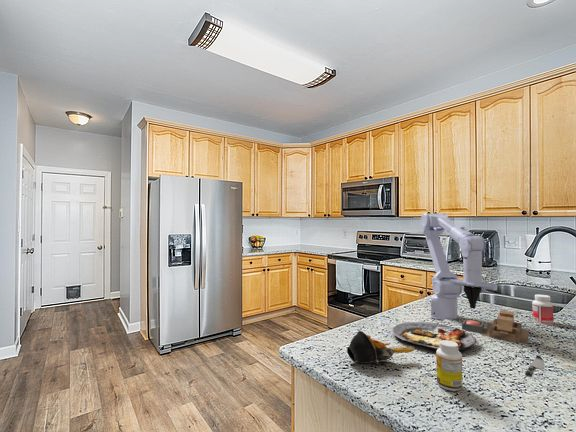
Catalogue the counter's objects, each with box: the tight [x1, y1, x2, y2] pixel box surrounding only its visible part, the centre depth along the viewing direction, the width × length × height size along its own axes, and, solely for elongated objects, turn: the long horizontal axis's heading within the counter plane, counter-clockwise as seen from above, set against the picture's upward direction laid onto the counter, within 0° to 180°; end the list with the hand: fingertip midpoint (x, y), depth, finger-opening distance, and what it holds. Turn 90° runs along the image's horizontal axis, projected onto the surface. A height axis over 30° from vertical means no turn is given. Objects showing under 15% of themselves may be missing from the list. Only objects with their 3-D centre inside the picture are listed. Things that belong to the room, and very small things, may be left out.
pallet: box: [482, 318, 530, 345], centre depth 107 cm, size 12×16×3 cm
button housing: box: [461, 319, 485, 334], centre depth 111 cm, size 6×6×3 cm
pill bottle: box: [531, 293, 555, 326], centre depth 118 cm, size 6×6×11 cm
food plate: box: [391, 321, 477, 351], centre depth 104 cm, size 25×23×4 cm
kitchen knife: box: [524, 355, 545, 377], centre depth 85 cm, size 19×1×3 cm
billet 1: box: [498, 309, 515, 327], centre depth 111 cm, size 4×4×6 cm
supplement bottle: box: [435, 340, 463, 392], centre depth 75 cm, size 6×6×10 cm
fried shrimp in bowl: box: [346, 330, 415, 365], centre depth 89 cm, size 9×11×18 cm
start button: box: [466, 319, 481, 326], centre depth 111 cm, size 4×4×3 cm
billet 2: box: [496, 315, 513, 334], centre depth 104 cm, size 4×4×6 cm
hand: (472, 307), depth 111 cm, fingers closed
